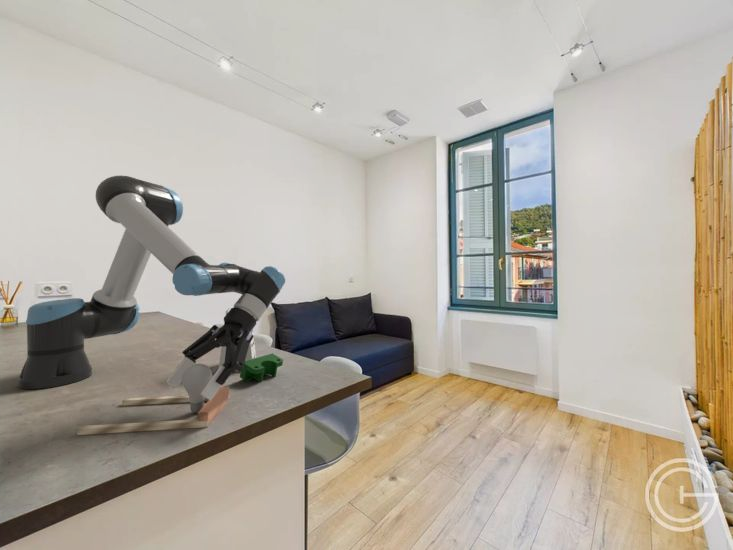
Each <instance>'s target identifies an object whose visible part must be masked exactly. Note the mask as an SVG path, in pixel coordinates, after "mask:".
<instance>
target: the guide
mask: <svg viewBox="0 0 733 550" xmlns="http://www.w3.org/2000/svg"><path fill="white" fill-rule="evenodd" d="M229 400H230V386H221V387H220V388H219V390H218V391H217V393H216V394H215V396H214V397H213V399H212V400H208V399H207V398H205V400H204V402H206V403H205V404H204V406H203V408H202V409H201V410H200V411H199V412H198V413H197V419H178V420H176V419H175V420H161V421H146V422H145V421H144V422H125V423H113V424H112V423H108V424H93V425H82V426H80V427H78V428H77V436H85V435H102V434H117V433H134V432H148V431H149V432H150V431H165V430H180V429H181V430H182V429H184V430H185V429H197V428H198V429H199V428H209V426H210V425H211V423H212V422H213V421H214V419H215V418H216V417H217V415H218V414H219V413H220V411H221V410H222V409H223V407H224V406H225V405H226V404H227V402H228V401H229ZM121 401H122V402H121V403H122V404H121V405H122V406H140V405H159V404H161V405H163V404H177V403H179V404H181V403H190V401H189V395H171V396H151V397H150V396H149V397H128V398H126V397H124V399H122V400H121Z"/></svg>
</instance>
